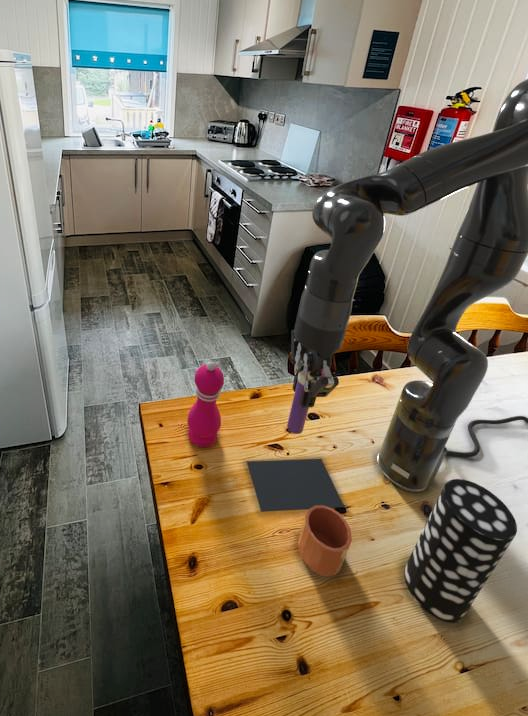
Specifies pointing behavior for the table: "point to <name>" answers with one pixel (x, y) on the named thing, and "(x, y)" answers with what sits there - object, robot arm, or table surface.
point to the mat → (293, 484)
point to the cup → (324, 540)
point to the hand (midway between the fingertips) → (302, 397)
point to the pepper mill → (206, 406)
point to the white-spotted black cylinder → (458, 549)
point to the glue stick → (298, 408)
